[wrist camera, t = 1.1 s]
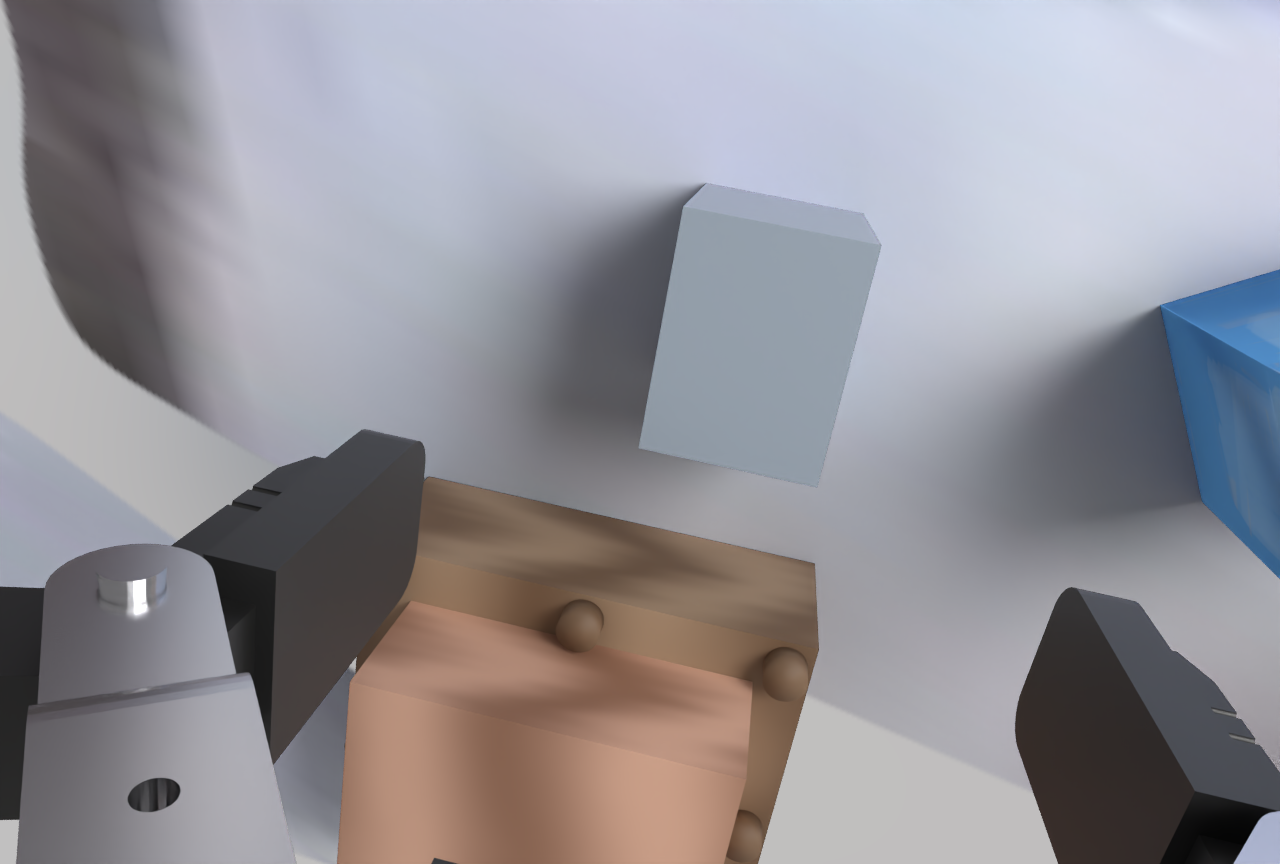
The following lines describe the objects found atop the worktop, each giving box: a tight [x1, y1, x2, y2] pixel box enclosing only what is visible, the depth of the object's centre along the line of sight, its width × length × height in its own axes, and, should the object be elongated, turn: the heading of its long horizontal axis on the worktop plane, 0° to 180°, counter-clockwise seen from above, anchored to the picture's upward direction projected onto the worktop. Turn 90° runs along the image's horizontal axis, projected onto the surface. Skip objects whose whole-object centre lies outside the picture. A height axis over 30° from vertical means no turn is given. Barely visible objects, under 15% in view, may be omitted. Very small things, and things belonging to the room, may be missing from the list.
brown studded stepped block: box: [337, 477, 819, 864], centre depth 29 cm, size 13×13×9 cm
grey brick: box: [639, 183, 881, 487], centre depth 25 cm, size 4×6×6 cm
